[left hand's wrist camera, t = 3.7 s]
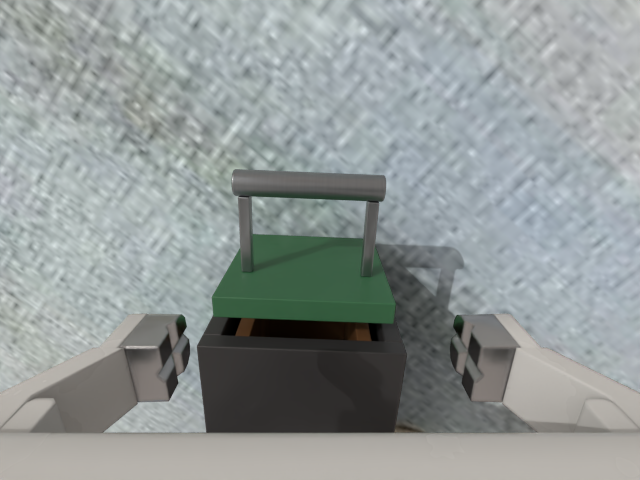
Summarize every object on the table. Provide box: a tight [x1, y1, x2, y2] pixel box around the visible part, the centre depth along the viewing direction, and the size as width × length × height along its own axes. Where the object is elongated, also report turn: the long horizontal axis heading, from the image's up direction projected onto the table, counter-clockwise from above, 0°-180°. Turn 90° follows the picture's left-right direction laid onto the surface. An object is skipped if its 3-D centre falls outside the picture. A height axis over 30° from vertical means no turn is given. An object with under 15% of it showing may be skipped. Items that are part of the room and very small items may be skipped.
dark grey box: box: [197, 315, 407, 433], centre depth 25 cm, size 19×10×11 cm, turn 178°
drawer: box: [212, 169, 396, 341], centre depth 23 cm, size 24×9×9 cm, turn 178°
